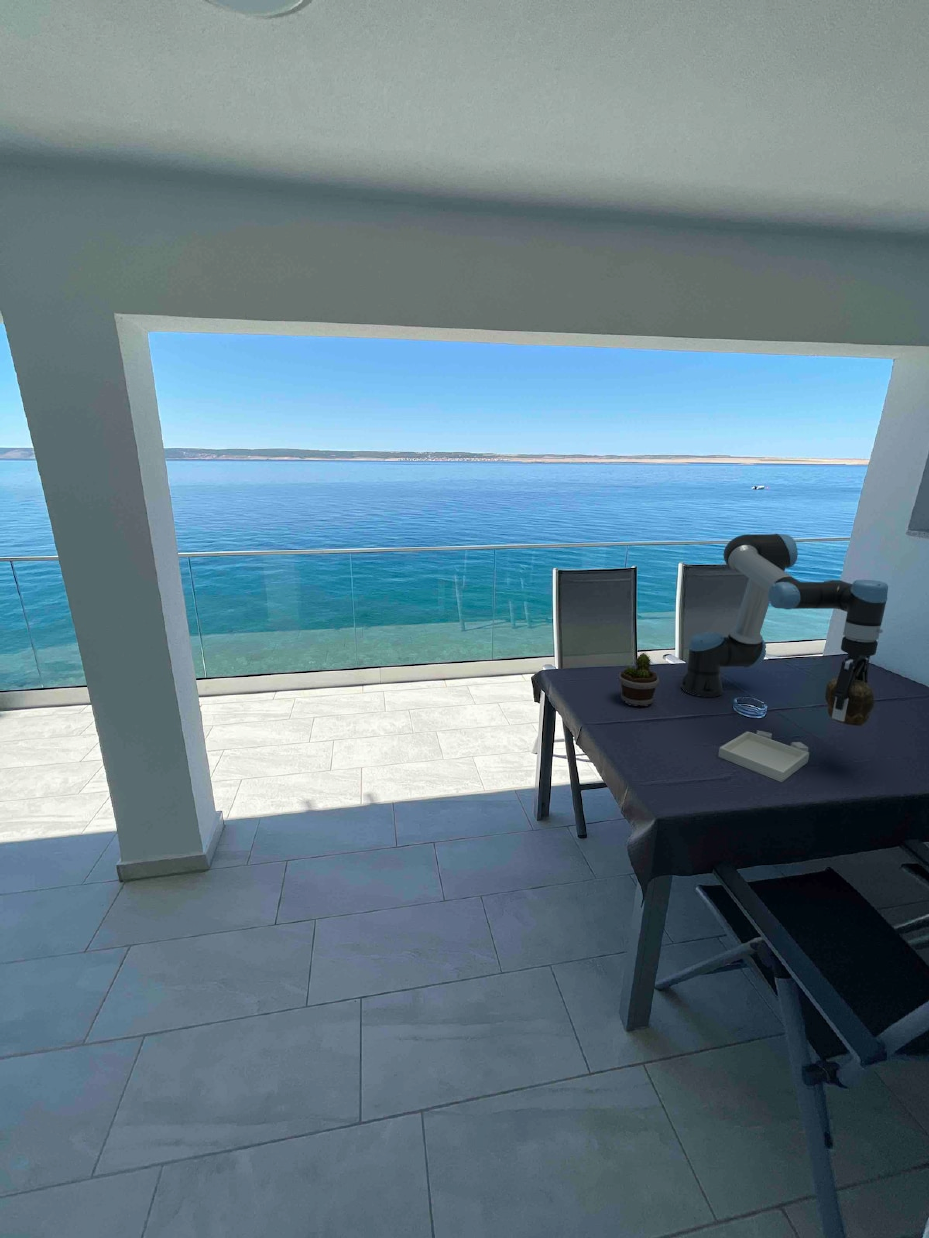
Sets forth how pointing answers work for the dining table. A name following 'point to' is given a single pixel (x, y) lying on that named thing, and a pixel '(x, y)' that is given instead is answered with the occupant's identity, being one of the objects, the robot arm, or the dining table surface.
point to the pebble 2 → (799, 746)
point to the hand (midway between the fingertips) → (845, 713)
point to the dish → (764, 756)
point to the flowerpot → (638, 682)
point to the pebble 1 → (764, 734)
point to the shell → (853, 702)
